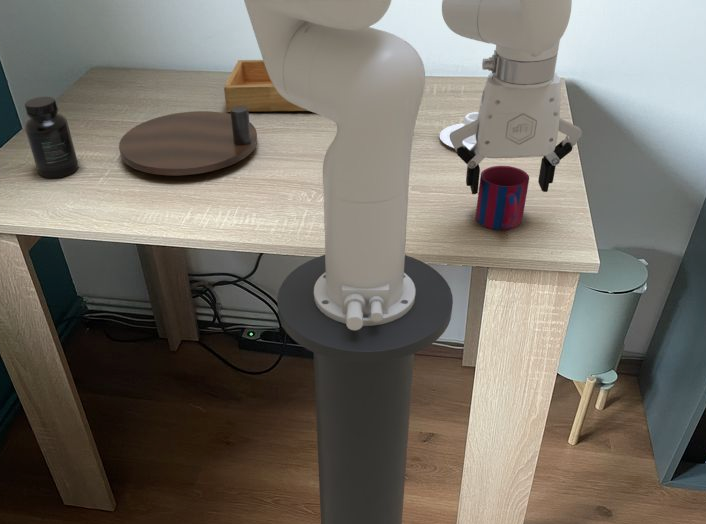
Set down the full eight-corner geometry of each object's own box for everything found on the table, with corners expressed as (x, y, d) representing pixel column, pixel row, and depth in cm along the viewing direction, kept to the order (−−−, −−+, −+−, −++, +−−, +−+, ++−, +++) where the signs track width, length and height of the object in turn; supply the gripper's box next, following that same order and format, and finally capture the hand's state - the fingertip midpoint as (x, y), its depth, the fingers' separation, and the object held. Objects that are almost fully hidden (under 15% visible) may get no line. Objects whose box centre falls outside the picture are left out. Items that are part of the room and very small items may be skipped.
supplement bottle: (39, 164, 127) (19, 97, 120) (78, 159, 129) (61, 91, 121) (37, 181, 122) (16, 112, 115) (79, 175, 123) (61, 106, 116)
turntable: (249, 174, 118) (245, 133, 113) (104, 176, 119) (95, 136, 115) (263, 116, 136) (260, 78, 132) (137, 118, 138) (130, 81, 133)
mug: (518, 207, 109) (526, 165, 105) (527, 242, 102) (535, 199, 97) (473, 207, 110) (478, 165, 106) (479, 241, 102) (484, 198, 98)
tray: (226, 113, 142) (223, 84, 138) (240, 85, 153) (238, 57, 150) (384, 114, 138) (385, 84, 135) (386, 85, 150) (387, 57, 146)
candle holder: (461, 160, 122) (464, 136, 119) (427, 134, 131) (428, 110, 128) (522, 147, 125) (526, 122, 122) (484, 122, 134) (487, 98, 131)
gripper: (458, 80, 89) (448, 203, 100) (602, 74, 88) (576, 199, 99) (451, 58, 95) (443, 177, 106) (587, 52, 94) (564, 173, 105)
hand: (507, 188), depth 103 cm, fingers open, 9 cm apart
